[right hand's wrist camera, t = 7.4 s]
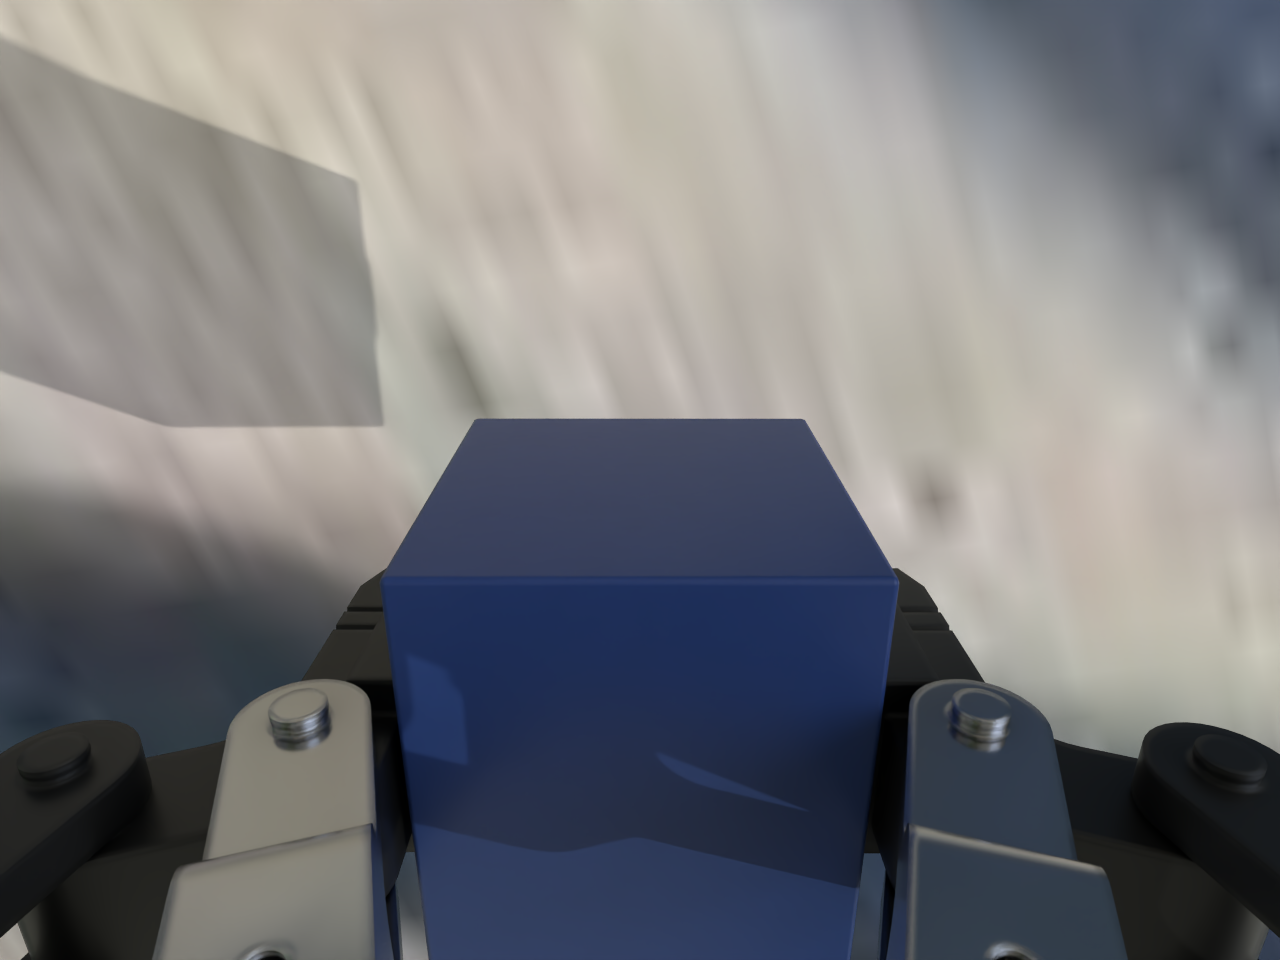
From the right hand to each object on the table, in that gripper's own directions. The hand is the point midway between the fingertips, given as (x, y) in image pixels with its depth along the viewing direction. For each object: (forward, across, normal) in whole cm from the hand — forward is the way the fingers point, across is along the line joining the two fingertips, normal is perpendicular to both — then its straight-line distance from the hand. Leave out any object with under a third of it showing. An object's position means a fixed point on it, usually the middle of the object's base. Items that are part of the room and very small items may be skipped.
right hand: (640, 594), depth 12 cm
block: (+1, 0, 0) cm, 1 cm away
